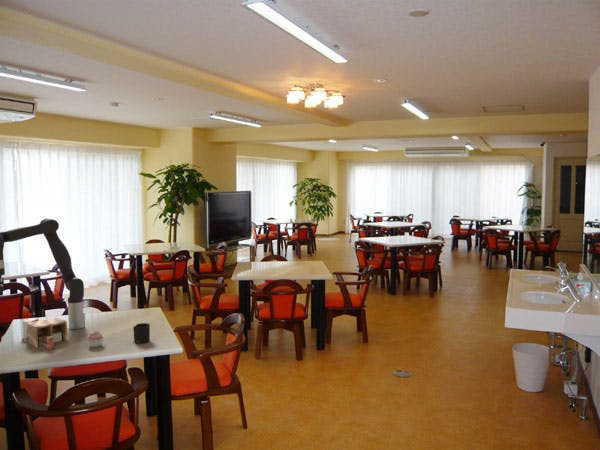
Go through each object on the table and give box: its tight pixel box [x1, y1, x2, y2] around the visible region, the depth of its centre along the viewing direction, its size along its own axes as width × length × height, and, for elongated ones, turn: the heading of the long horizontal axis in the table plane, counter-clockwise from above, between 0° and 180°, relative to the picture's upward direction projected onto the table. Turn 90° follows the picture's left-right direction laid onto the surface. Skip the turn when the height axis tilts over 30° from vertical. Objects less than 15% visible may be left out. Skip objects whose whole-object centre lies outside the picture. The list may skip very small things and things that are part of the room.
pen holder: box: [132, 322, 151, 345], centre depth 315 cm, size 9×9×10 cm
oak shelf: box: [27, 316, 68, 348], centre depth 316 cm, size 18×14×12 cm
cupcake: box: [86, 329, 105, 349], centre depth 307 cm, size 9×9×10 cm
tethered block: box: [38, 334, 55, 351], centre depth 307 cm, size 5×18×7 cm, turn 45°
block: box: [52, 331, 63, 343], centre depth 319 cm, size 5×5×5 cm
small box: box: [21, 318, 40, 339], centre depth 328 cm, size 8×6×10 cm
